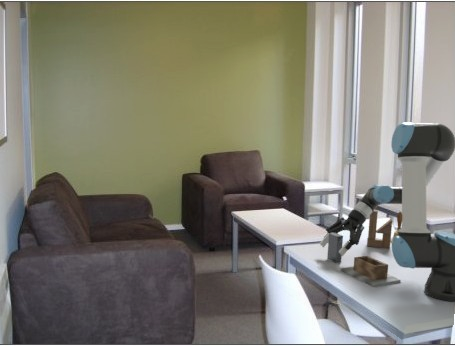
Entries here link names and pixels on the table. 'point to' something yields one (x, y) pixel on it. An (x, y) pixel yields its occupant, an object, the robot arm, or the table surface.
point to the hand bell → (399, 220)
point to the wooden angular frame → (383, 229)
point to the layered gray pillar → (334, 247)
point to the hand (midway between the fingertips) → (330, 249)
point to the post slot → (370, 271)
